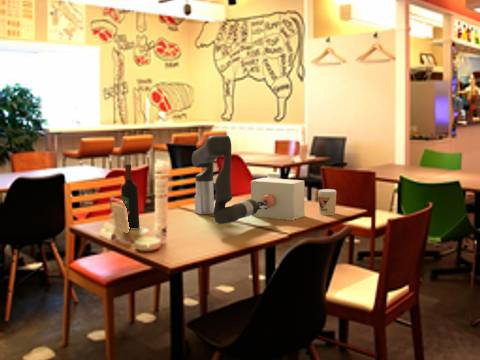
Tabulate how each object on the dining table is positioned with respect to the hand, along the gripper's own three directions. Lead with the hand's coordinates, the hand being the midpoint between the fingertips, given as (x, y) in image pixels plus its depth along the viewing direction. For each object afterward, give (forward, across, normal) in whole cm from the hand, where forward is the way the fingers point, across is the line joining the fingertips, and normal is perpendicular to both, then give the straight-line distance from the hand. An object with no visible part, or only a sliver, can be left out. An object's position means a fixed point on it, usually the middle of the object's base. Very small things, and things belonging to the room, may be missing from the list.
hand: (265, 202), depth 270 cm
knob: (+5, 0, +3) cm, 6 cm away
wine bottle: (-43, +48, +9) cm, 65 cm away
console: (+12, 0, +9) cm, 15 cm away
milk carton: (+26, +11, +9) cm, 30 cm away
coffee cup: (+28, -20, +9) cm, 36 cm away
